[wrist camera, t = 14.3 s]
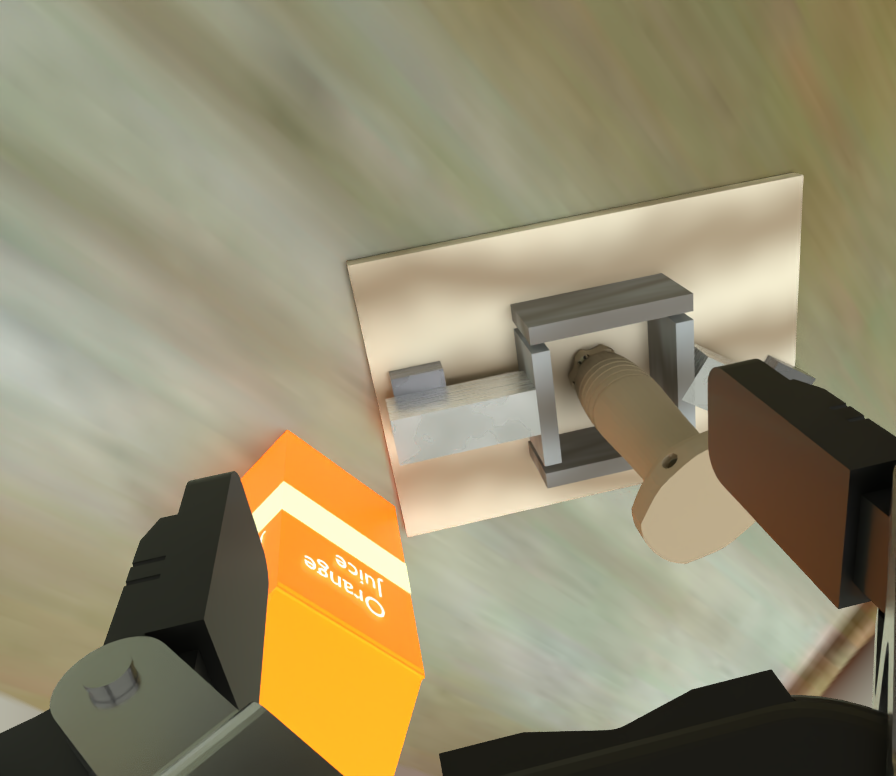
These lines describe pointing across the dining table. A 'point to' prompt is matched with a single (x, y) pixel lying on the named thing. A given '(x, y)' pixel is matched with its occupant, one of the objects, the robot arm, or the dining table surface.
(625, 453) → the handle
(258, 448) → the dining table surface
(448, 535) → the dining table surface
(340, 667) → the orange juice
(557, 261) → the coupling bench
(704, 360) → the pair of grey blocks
